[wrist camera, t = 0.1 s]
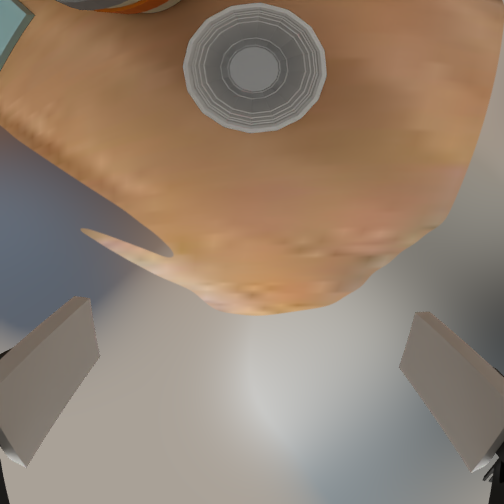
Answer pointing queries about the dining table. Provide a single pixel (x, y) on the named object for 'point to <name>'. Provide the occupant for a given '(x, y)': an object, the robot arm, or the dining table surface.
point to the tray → (12, 25)
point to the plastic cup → (254, 67)
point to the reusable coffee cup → (121, 5)
